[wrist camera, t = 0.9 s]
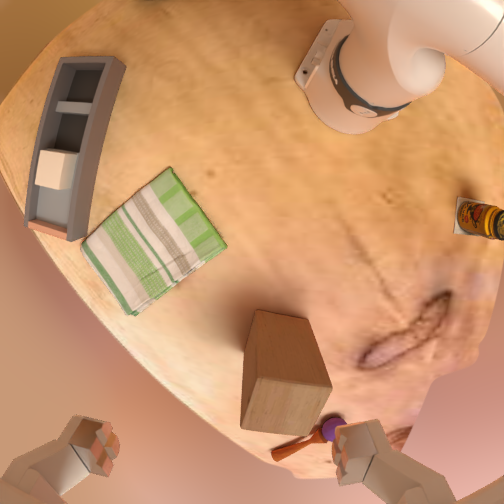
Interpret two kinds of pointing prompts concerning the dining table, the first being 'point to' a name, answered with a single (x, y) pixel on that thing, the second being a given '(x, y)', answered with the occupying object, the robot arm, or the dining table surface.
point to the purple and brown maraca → (311, 439)
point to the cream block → (55, 169)
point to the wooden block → (282, 376)
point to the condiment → (479, 219)
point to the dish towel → (151, 243)
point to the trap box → (73, 141)
